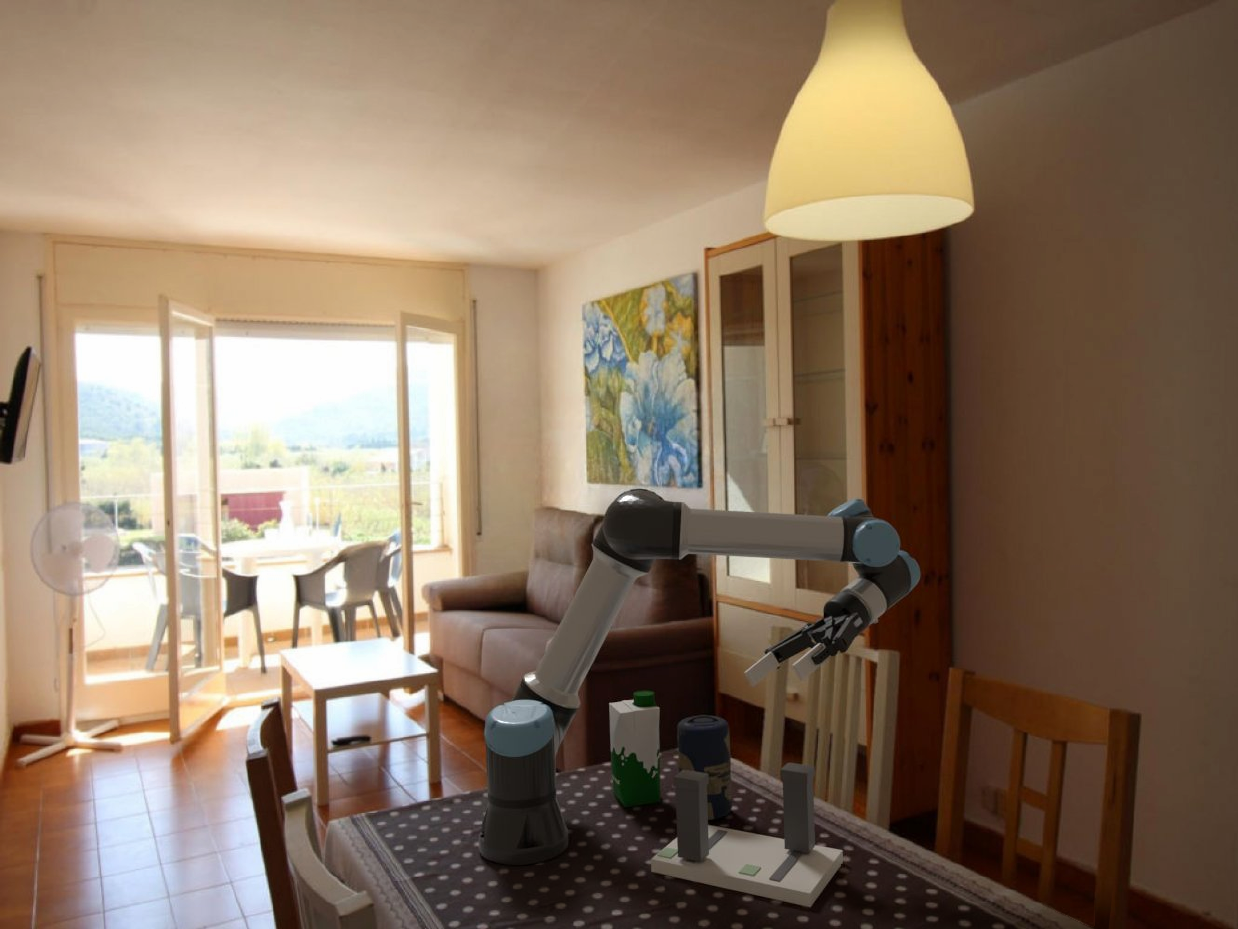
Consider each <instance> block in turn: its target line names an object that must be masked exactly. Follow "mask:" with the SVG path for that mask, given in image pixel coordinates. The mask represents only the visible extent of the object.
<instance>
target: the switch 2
mask: <svg viewBox="0 0 1238 929" xmlns="http://www.w3.org/2000/svg"><path fill="white" fill-rule="evenodd" d="M779 772H780V780H782V802H783V831H784V832H783V834H784V835H783V836H784V837H783V839H784V842H785V849H788V850H793V851H798V852H804V853H810V852H811V851H812V849H813V848H814V847H815V845H816V833H815V831H816V830H815V801H814V800H815V799H814V795H815V794H814V778H815V776H816V770H815V766H814V765H808V764H803V763H802V764H800V763H795V762H787V763H786V764H785V765H783V767H781V768H780V771H779Z"/></svg>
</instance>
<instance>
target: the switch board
mask: <svg viewBox="0 0 1238 929" xmlns="http://www.w3.org/2000/svg"><path fill="white" fill-rule="evenodd" d="M708 838H709V855H708V856H707V857H706V858H705V859H704V860H702V861H701V862H699V861H694V860H689V859H685V858H680V857H678V846H677V837H676V838H675V839H673V840H671V841H670V843H668V844H667V845H666V846H665V847H664V848H662V849H661V850H660V851H659V852H657V853H656V854H655V855H654V856H653V857H651V859H650V865H651V866H650V867H651V871H650V872H651V873H655V874H660V875H664V876H670V877H674V878H679V879H683V880H687V881H692V882H696V883H701V884H705V885H710V886H715V887H718V888H723V889H727V890H731V891H732V890H733V891H737V892H741V893H746V894H750V895H755V896H760V897H764V898H769V899H771V900H772V899H773V900H777V901H781V902H786V903H789V904H790V903H791V904H793V905H794V904H795V905H799V906H804V907H808V908H811V907H812V906H813V905H814V903H815V901H816V900H817V899H818V898H819V896H820V895H821V893H822V892H823V890H824V889H825V888H826V887H827V885H828V884H829V882H830V881H831V880H832V879H833V877H834V875H835V874H836V873H837V871H839V869H840V867H841V866H842V865H843V863H844V858H843V857H844V856H843V854H844V852H843V851H844V850H842V849H837V848H833V847H827V846H823V845H816V844H815V847H814V848H813V849H812V851H811V852H810V853H804V852H798V851H793V850H788V849H785V842H784V838H780V837H776V836H775V837H773V836H769V835H764V834H759V833H758V834H757V833H754V832H747V831H742V830H738V829H732V828H726V827H722V826H716V825H710V824H708ZM841 864H842V865H841Z"/></svg>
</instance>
